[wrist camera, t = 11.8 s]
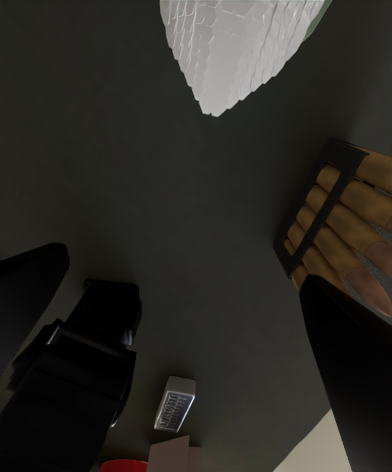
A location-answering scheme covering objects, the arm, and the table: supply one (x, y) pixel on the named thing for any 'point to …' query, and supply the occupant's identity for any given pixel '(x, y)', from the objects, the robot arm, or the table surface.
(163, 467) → the greeting card
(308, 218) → the ammunition clip
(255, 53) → the pincushion
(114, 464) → the toy clock
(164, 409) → the multiport hub
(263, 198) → the table surface
